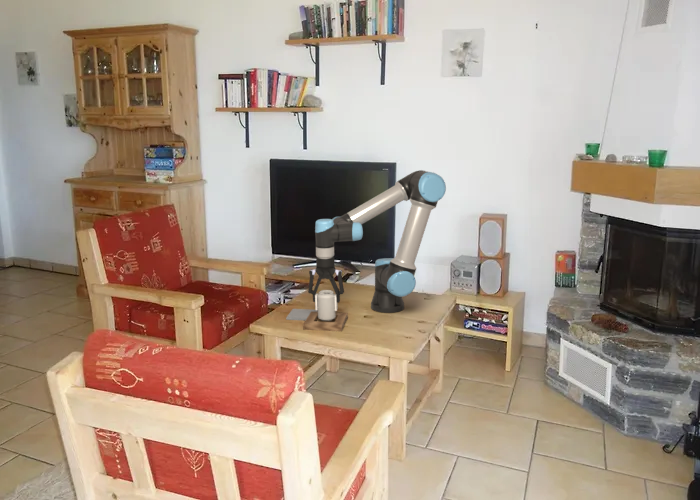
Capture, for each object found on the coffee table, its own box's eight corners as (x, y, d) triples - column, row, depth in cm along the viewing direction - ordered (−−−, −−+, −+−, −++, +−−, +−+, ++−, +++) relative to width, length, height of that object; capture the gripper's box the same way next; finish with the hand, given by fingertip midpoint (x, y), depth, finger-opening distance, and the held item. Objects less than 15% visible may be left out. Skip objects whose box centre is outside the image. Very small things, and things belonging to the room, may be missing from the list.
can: (322, 322, 245) (321, 295, 242) (315, 317, 251) (314, 290, 248) (338, 319, 248) (338, 292, 245) (331, 314, 254) (330, 288, 252)
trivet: (319, 311, 265) (318, 309, 265) (313, 320, 254) (313, 318, 253) (292, 310, 267) (292, 308, 267) (286, 319, 255) (286, 317, 255)
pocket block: (347, 318, 257) (347, 313, 256) (341, 331, 241) (341, 325, 241) (311, 316, 259) (311, 311, 258) (303, 329, 243) (303, 323, 243)
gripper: (350, 254, 246) (351, 307, 251) (303, 254, 249) (304, 305, 254) (348, 259, 238) (349, 313, 244) (299, 258, 241) (301, 311, 246)
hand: (326, 309), depth 249 cm, fingers closed on can, 7 cm apart
